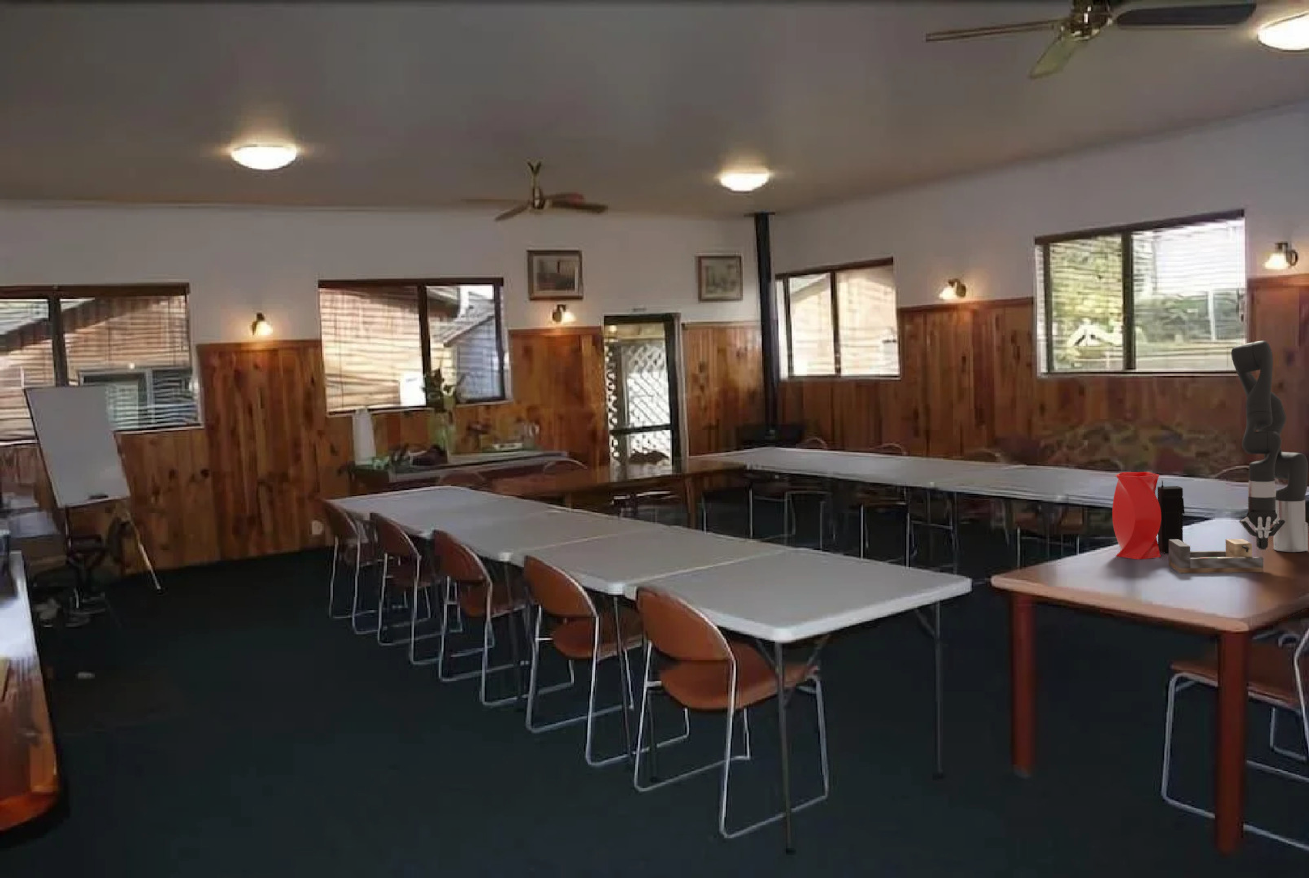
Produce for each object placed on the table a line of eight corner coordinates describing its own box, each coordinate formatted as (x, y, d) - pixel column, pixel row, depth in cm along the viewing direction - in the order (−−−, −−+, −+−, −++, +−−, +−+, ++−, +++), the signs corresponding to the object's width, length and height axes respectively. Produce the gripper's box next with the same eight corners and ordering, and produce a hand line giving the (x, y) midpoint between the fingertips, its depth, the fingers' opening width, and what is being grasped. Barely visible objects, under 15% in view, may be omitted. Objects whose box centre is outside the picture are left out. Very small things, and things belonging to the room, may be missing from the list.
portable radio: (1180, 549, 363) (1179, 478, 361) (1187, 553, 357) (1186, 480, 355) (1156, 550, 364) (1155, 479, 362) (1163, 553, 358) (1162, 481, 356)
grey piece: (1249, 564, 335) (1248, 538, 335) (1263, 572, 324) (1263, 545, 323) (1168, 565, 340) (1168, 539, 339) (1180, 573, 328) (1179, 546, 328)
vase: (1164, 559, 349) (1163, 476, 347) (1118, 559, 352) (1116, 477, 350) (1152, 550, 364) (1151, 471, 362) (1108, 551, 367) (1106, 472, 364)
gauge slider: (1242, 559, 334) (1242, 538, 333) (1256, 567, 323) (1256, 545, 322) (1225, 560, 335) (1225, 539, 334) (1238, 567, 324) (1238, 546, 323)
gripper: (1280, 492, 330) (1280, 546, 331) (1234, 493, 332) (1235, 547, 334) (1289, 495, 322) (1290, 551, 324) (1243, 497, 325) (1243, 551, 326)
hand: (1262, 549), depth 329 cm, fingers closed
